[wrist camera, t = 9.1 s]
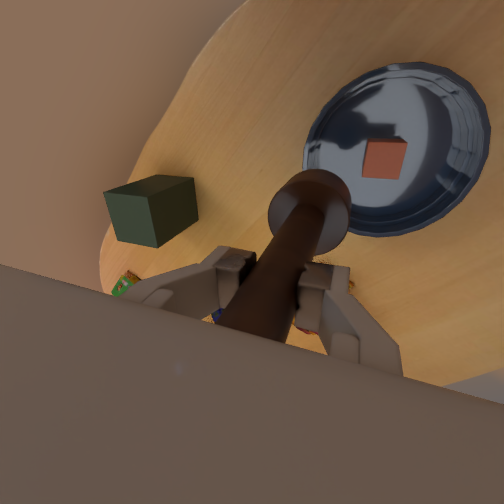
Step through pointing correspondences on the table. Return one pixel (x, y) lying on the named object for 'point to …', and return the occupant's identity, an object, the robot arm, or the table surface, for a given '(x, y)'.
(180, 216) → the stand
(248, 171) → the table surface
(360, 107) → the bowl
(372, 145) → the terracotta block
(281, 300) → the masher with cylindrical head
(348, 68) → the table surface
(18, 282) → the robot arm
